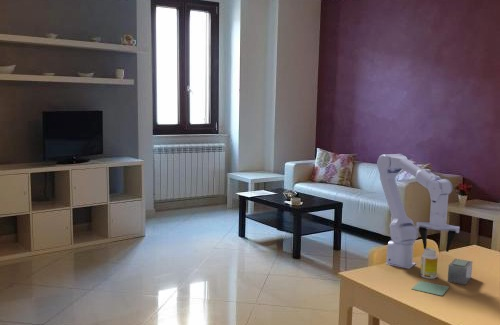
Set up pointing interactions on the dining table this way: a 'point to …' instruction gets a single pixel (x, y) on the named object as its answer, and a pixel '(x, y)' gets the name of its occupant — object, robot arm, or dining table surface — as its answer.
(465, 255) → the dining table surface
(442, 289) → the pad
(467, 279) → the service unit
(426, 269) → the supplement bottle
